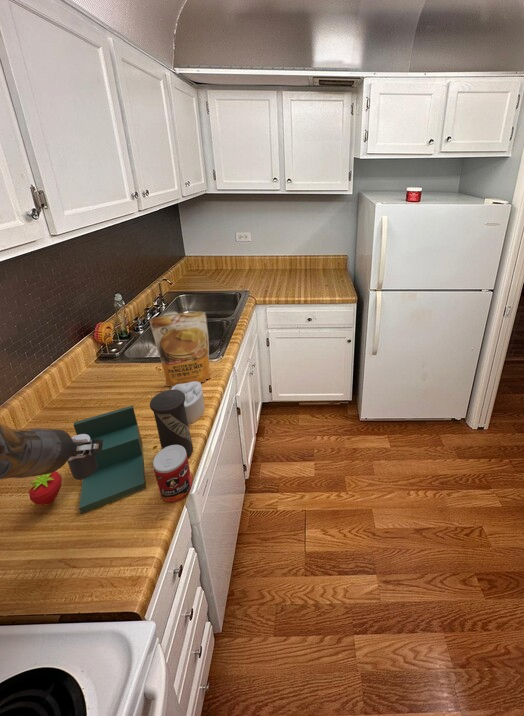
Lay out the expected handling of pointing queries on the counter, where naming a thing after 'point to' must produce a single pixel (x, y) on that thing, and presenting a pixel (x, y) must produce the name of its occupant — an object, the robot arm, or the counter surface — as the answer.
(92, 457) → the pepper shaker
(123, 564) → the counter surface
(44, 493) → the strawberry
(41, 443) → the robot arm
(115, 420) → the spice shelf
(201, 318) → the pancake mix bag
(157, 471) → the canned food
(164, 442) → the container
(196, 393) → the lumpy-topped squat cylinder
